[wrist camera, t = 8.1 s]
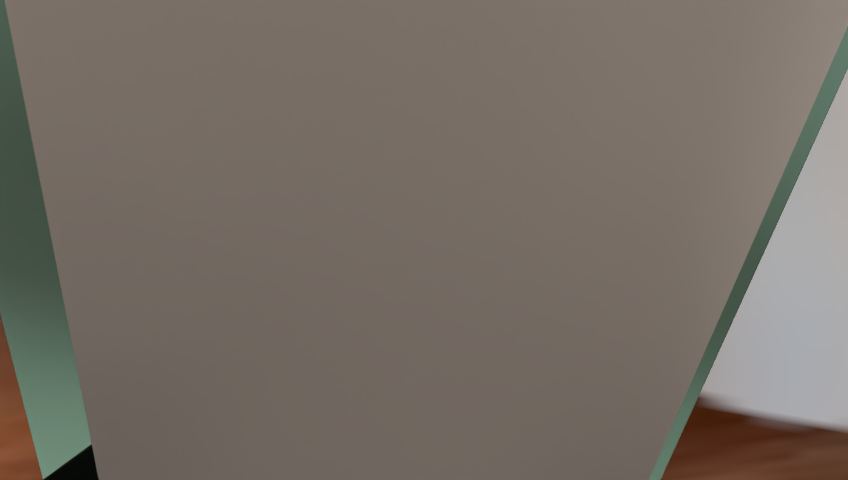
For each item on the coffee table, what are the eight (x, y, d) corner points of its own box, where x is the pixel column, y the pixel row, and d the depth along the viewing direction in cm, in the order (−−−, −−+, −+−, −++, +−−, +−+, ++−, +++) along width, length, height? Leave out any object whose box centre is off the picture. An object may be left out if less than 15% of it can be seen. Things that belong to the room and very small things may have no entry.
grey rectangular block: (596, -93, 6) (957, -219, 2) (441, 588, 12) (461, 906, 8) (252, -146, 6) (-81, -419, 2) (260, 580, 12) (182, 909, 8)
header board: (883, -128, 8) (1513, -265, 4) (602, 544, 15) (691, 796, 11) (-97, -298, 7) (-1087, -845, 2) (84, 518, 14) (-75, 790, 9)
